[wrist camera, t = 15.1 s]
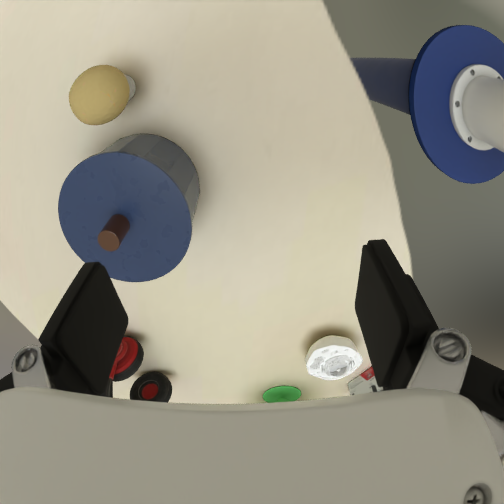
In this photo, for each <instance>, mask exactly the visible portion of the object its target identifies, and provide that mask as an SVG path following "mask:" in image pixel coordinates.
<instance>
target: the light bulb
mask: <svg viewBox="0 0 504 504" xmlns="http://www.w3.org/2000/svg"><path fill="white" fill-rule="evenodd" d="M135 89H136V86H135V82H134V80H133V79H132V78H131V77H130V76H128V75H125V74H123V73H122V72H121V71H120V70H118V69H117V68H115V67H112V66H109V65H98V66H94V67H91V68H89V69H87V70H86V71H84V72H83V73H82V74H81V75H80V76H79V77H78V78H77V79H76V80H75V82H74V83H73V85H72V87H71V89H70V92H69V103H70V106H71V109H72V111H73V113H74V114H75V116H76V117H77V118H78V119H79V120H80V121H81V122H83V123H85V124H88V125H101V124H105V123H108V122H110V121H112V120H113V119H115V118H116V117H118V116H119V115H120V114H121V113H122V111H123V110H124V108H125V107H126V105H127V103H128V101H129V100H130V99H131V98H132V97H133V95H134V93H135Z"/></svg>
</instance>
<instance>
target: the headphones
mask: <svg viewBox="0 0 504 504" xmlns="http://www.w3.org/2000/svg"><path fill="white" fill-rule="evenodd" d="M143 355H144V352H143V348H142V346H141V344H140V343H139V342H138V341H137V340H136V339H134V338H131V337H123V339H122V342H121V344H120V347H119V350H118V353H117V356H116V358H115V361H114V364H113V367H112V370H111V373H110V376H109V379H108V382H107V385H106V388H105V391H104V393H103V394H101V395H100V396H103V397H111V398H113V382H112V381H115V382H116V381H122V380H125V379H127V378H129V377H130V376H132V375H133V374H134V373H135V372H136V371H137V370H138V369H139V367H140V366H141V363H142V361H143ZM171 394H172V385H171V382H170V381H169V379H168V378H167V377H166V376H165V375H163V374H162V373H158V372H151V373H146V374H144V375H142V376H141V377H139V378H138V379H137V380H136V381H135V382H134V384H133V385H132V388H131V390H130V400H140V401H152V402H167V403H168V401H169V399H170V397H171Z"/></svg>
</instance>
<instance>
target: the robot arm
mask: <svg viewBox="0 0 504 504" xmlns="http://www.w3.org/2000/svg"><path fill="white" fill-rule="evenodd" d="M449 107H450V115H451V120H452V123H453V126H454V128H455V130H456V132H457V134H458V136H459V137H460V138H461V139H462V140H463V141H464V142H465V143H466V144H467V145H469V146H471V147H473V148H475V149H478V150H489V149H492V148H494V147H495V148H497V149H498V150H500V151H502V152H504V79H503V78H502V76H501V75H500V74H499V73H498V72H497V71H495V70H494V69H493V68H491V67H489V66H486V65H481V64H473V65H469V66H467V67H465V68H464V69H462V70H461V71H460V73H459V74H458V75H457V77H456V78H455V80H454V82H453V85H452V87H451V92H450V100H449ZM355 311H356V314H357V317H358V321H359V324H360V327H361V330H362V334H363V337H364V340H365V344H366V347H367V350H368V354H369V357H370V361H371V364H372V368H373V371H374V375H375V379H376V382H377V385H378V387H383V391H380V392H371V393H365V394H358V395H350V396H342V397H333V398H323V399H313V400H303V401H290V402H275V403H253V404H189V403H167V402H152V401H140V400H129V399H119V398H111V397H103V396H100V395H101V394H103V393H104V391H105V388H106V385H107V382H108V379H109V376H110V373H111V370H112V367H113V364H114V361H115V358H116V356H117V353H118V350H119V347H120V344H121V342H122V339H123V336H124V334H125V331H126V328H127V326H128V316H127V314H126V312H125V309H124V307H123V305H122V303H121V301H120V299H119V297H118V295H117V292H116V290H115V288H114V286H113V283H112V281H111V279H110V277H109V274H108V272H107V270H106V268H105V266H104V265H102V264H101V263H100V262H87V263H85V264H84V265H83V266H82V268H81V269H80V271H79V272H78V274H77V275H76V277H75V278H74V280H73V282H72V283H71V285H70V286H69V288H68V290H67V291H66V293H65V294H64V296H63V298H62V299H61V301H60V303H59V304H58V306H57V308H56V309H55V311H54V313H53V314H52V316H51V318H50V320H49V321H48V323H47V325H46V327H45V329H44V330H43V332H42V334H41V336H40V338H39V341H40V343H41V344H42V346H41V348H39V347H38V346H37V345H27V346H25V347H23V348H22V349H20V350H19V351H18V352H17V353H16V355H15V356H14V359H13V361H12V367H11V368H12V372H11V373H10V374H8V375H7V376H5V377H4V378H2V379H1V380H0V504H504V370H502V369H500V368H498V367H496V366H493V365H491V364H489V363H487V362H485V361H483V360H481V359H479V358H477V357H475V356H473V355H471V345H470V342H469V340H468V339H467V337H466V336H465V335H463V334H462V333H461V332H459V331H457V330H456V329H451V328H441V329H439V328H438V326H437V324H436V322H435V320H434V318H433V316H432V314H431V312H430V310H429V309H428V307H427V305H426V303H425V301H424V299H423V297H422V296H421V294H420V292H419V290H418V288H417V286H416V285H415V283H414V281H413V279H412V278H411V276H410V275H408V274H405V273H404V271H403V269H402V267H401V266H400V264H399V262H398V260H397V259H396V257H395V255H394V254H393V252H392V250H391V249H390V247H389V245H388V244H387V242H386V241H385V240H384V239H381V240H369V241H368V243H367V245H363V248H362V256H361V264H360V272H359V279H358V286H357V293H356V299H355Z"/></svg>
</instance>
